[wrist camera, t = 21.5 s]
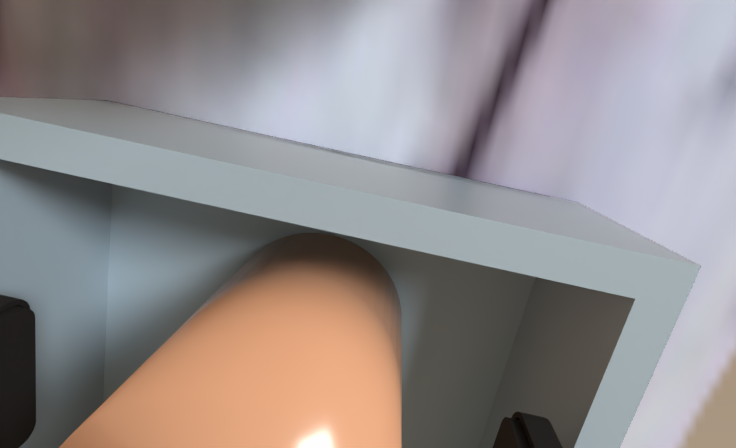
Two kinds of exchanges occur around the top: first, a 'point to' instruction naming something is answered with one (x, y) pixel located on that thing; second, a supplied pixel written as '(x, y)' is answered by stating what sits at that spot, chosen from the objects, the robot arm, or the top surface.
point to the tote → (338, 218)
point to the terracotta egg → (272, 360)
